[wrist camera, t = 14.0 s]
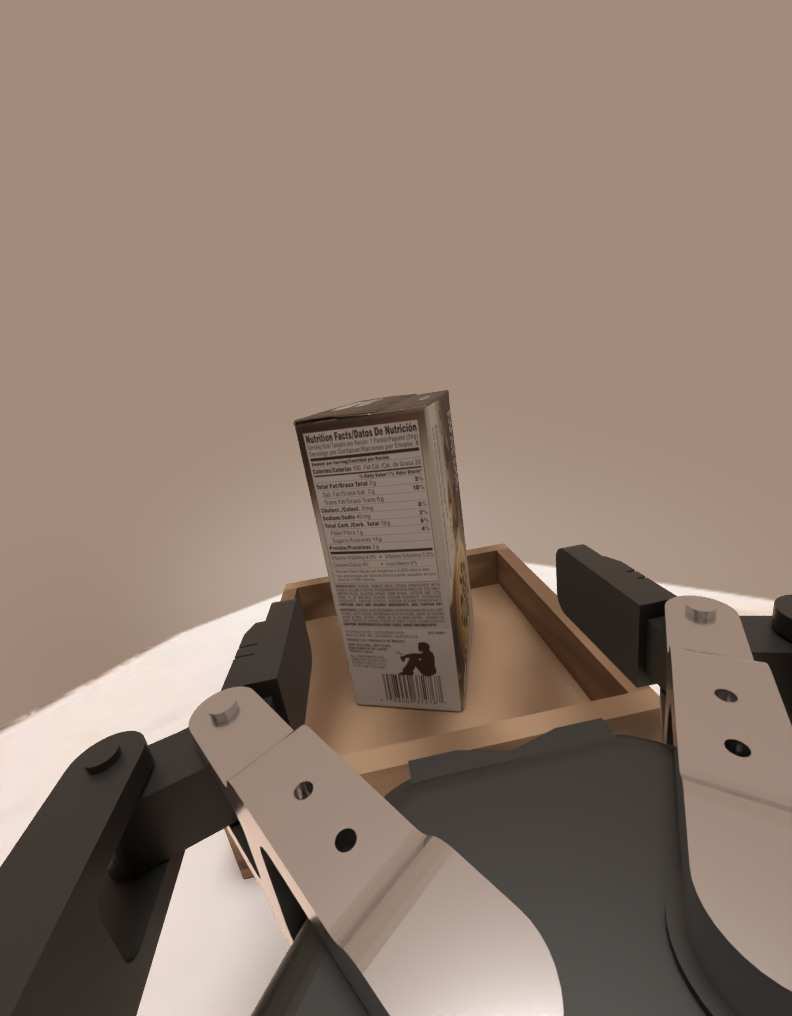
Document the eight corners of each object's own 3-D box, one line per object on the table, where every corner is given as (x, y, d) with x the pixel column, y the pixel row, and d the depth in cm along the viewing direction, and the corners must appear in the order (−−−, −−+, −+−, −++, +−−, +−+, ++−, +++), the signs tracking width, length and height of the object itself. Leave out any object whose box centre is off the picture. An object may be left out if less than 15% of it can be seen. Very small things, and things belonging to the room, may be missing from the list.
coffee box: (390, 616, 31) (353, 401, 26) (475, 616, 29) (451, 386, 25) (351, 708, 23) (286, 417, 18) (467, 716, 21) (428, 397, 16)
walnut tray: (243, 879, 16) (215, 806, 15) (296, 627, 33) (285, 584, 32) (664, 779, 17) (669, 705, 16) (507, 586, 35) (503, 543, 33)
